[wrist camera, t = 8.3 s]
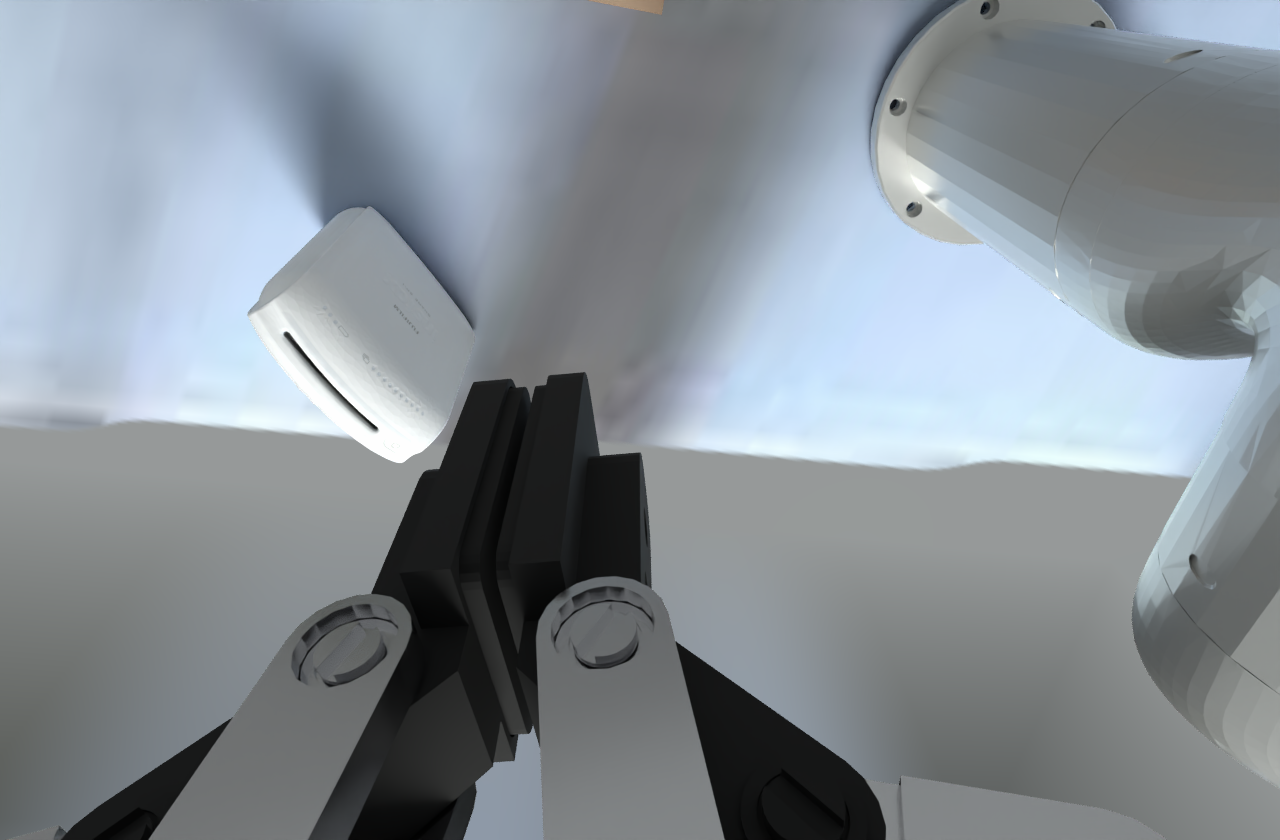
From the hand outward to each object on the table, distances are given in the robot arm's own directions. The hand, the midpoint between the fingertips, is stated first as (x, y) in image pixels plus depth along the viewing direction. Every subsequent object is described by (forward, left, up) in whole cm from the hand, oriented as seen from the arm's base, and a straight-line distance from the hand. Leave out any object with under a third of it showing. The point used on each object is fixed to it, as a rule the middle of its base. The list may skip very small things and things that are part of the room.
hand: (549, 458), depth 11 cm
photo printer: (+9, +11, -30) cm, 34 cm away
